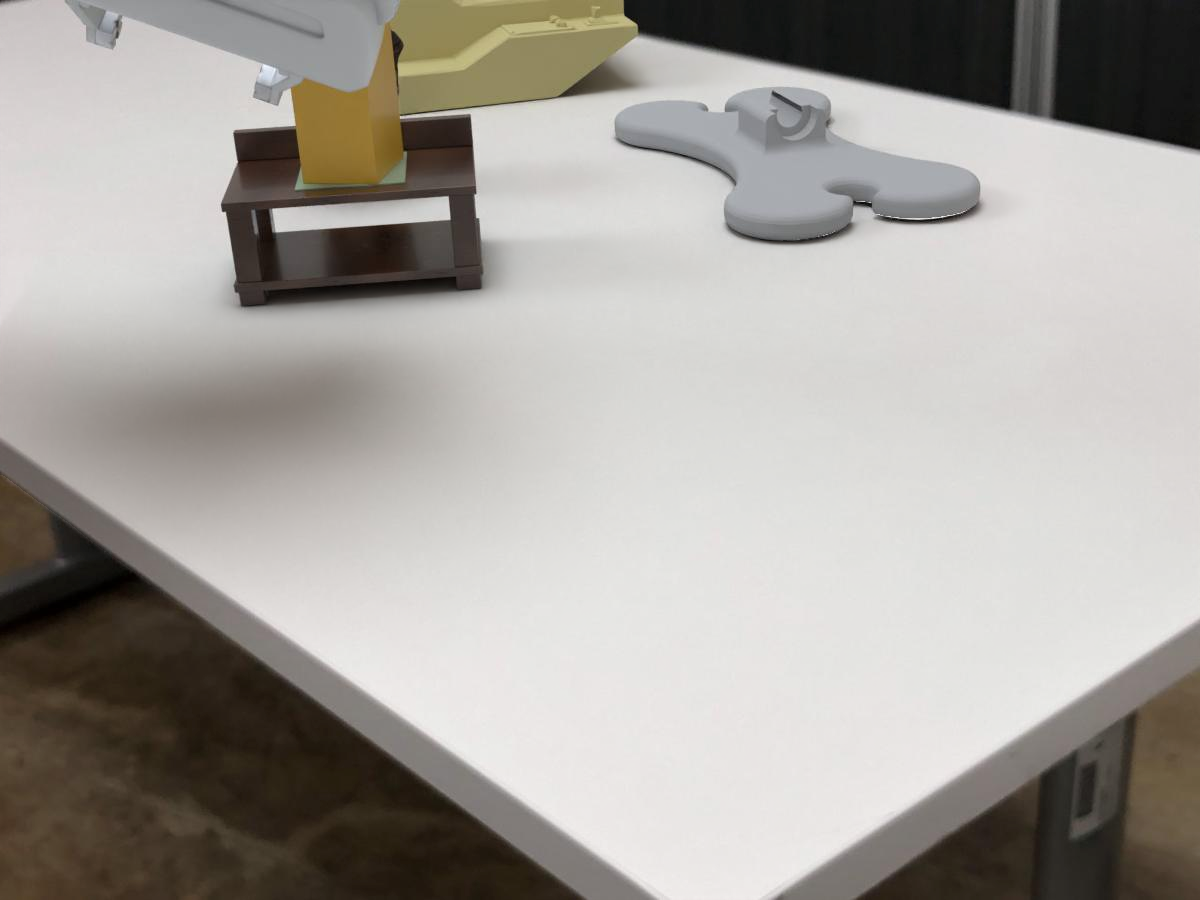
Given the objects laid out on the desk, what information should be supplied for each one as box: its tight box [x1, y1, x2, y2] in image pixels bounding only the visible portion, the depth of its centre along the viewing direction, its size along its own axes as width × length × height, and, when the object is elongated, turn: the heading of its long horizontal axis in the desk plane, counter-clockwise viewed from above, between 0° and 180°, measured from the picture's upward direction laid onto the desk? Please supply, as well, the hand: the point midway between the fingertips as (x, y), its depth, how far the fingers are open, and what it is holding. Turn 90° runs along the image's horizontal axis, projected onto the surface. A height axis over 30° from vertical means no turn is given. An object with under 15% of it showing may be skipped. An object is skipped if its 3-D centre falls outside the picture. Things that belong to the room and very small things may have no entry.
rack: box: [220, 113, 484, 307], centre depth 104 cm, size 16×10×9 cm, turn 95°
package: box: [290, 21, 404, 184], centre depth 101 cm, size 5×6×10 cm
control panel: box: [390, 0, 639, 115], centre depth 151 cm, size 24×16×20 cm
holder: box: [613, 86, 981, 241], centre depth 122 cm, size 19×34×5 cm, turn 18°
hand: (187, 65), depth 89 cm, fingers open, 8 cm apart
